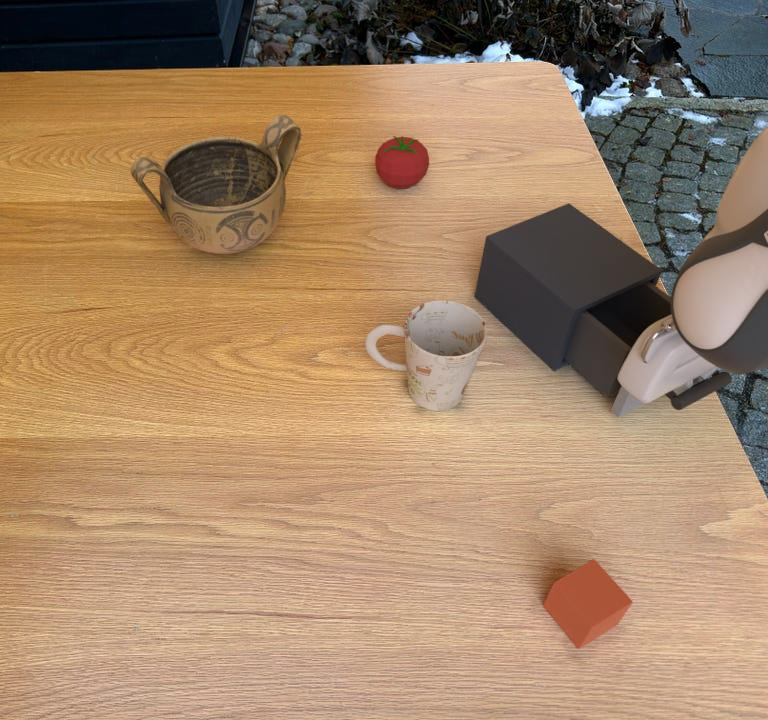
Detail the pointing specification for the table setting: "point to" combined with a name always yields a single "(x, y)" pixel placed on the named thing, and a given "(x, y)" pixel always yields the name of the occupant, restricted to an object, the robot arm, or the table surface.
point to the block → (586, 603)
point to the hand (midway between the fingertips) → (685, 388)
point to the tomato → (402, 162)
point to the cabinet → (555, 276)
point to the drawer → (625, 345)
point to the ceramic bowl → (224, 187)
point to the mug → (436, 351)
